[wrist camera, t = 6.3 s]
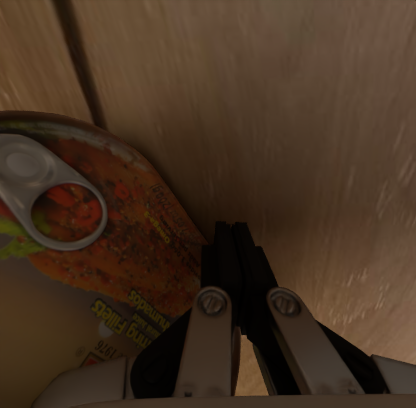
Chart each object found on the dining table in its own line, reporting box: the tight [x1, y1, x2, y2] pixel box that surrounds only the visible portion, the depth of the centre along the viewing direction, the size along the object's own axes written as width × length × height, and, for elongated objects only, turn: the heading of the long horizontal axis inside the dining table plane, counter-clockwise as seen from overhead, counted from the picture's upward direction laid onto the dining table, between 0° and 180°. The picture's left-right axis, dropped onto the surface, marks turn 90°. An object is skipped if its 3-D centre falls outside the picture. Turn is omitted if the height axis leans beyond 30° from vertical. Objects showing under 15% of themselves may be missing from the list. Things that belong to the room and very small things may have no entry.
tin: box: [0, 111, 241, 408], centre depth 8 cm, size 15×3×8 cm, turn 29°
